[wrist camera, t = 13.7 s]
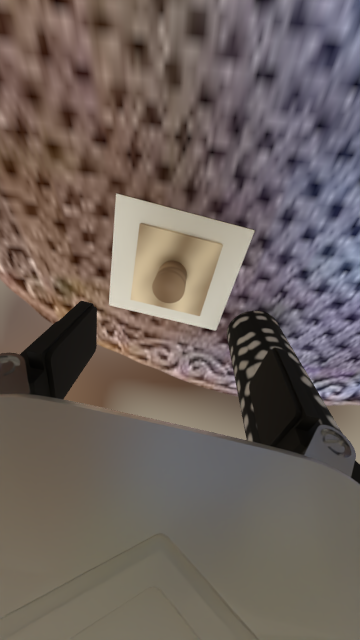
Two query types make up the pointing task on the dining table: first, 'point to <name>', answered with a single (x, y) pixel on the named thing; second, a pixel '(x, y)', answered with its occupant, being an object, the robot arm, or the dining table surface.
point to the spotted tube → (248, 353)
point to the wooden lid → (173, 269)
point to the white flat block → (140, 211)
